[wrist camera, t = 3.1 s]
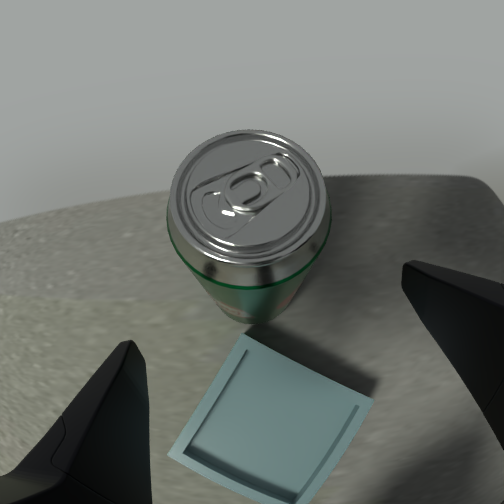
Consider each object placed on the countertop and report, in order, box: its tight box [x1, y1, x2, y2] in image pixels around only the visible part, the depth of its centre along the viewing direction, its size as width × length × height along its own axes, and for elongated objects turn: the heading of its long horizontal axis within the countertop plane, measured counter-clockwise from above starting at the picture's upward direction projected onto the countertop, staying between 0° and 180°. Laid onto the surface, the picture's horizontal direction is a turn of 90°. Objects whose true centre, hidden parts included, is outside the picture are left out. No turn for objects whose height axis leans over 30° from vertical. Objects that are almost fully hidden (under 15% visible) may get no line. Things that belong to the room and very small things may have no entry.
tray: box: [167, 333, 374, 504], centre depth 16 cm, size 9×9×2 cm
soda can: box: [166, 130, 332, 324], centre depth 14 cm, size 5×5×12 cm
